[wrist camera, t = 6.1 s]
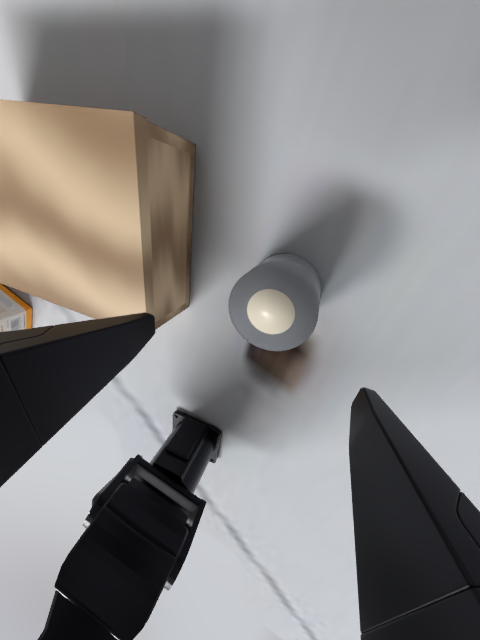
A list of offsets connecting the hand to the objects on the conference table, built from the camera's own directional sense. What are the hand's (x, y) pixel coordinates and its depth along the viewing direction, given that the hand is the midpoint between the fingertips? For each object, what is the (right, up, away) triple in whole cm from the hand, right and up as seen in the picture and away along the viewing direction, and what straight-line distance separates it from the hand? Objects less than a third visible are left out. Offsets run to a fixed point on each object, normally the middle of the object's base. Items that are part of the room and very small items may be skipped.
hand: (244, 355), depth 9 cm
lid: (-13, +8, +6) cm, 17 cm away
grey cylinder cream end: (+3, +4, +7) cm, 9 cm away
